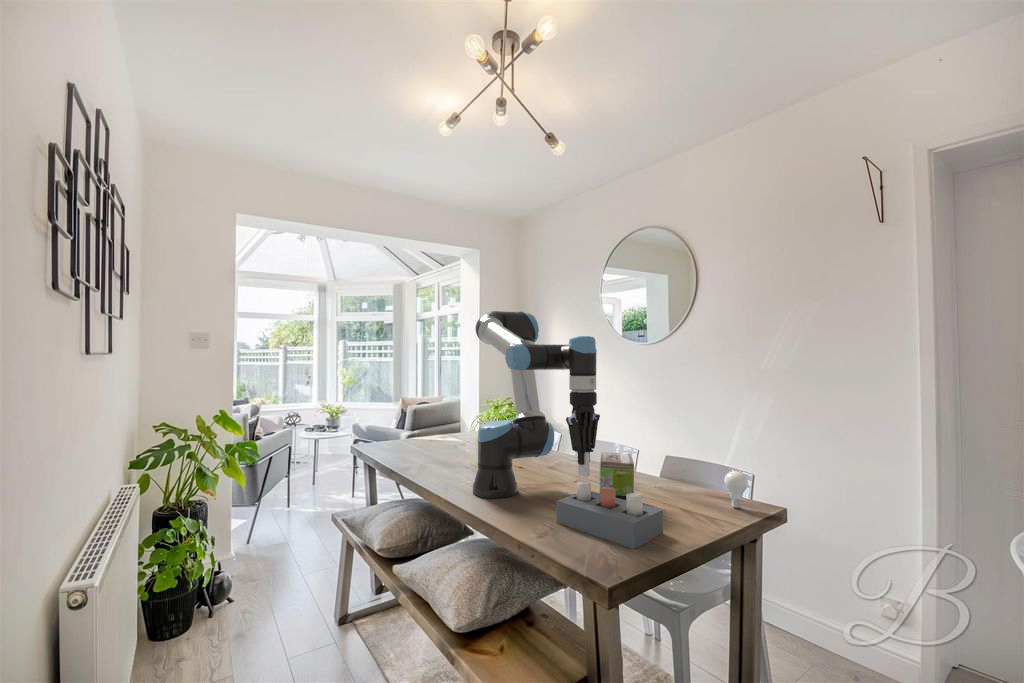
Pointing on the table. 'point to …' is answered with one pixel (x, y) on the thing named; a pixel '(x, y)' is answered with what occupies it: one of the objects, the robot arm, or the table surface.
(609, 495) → the brown egg
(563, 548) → the table surface
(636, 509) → the grey plunger
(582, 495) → the grey plunger
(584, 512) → the board
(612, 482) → the tea box
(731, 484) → the lightbulb
